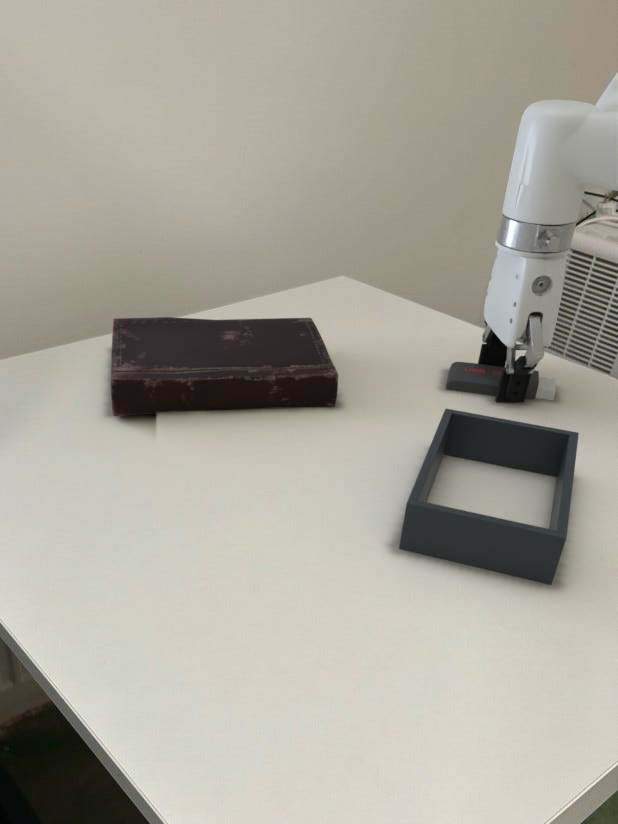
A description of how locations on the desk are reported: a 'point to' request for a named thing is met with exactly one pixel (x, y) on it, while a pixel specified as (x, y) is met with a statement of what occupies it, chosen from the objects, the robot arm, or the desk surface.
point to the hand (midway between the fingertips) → (498, 387)
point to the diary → (218, 365)
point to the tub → (484, 535)
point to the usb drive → (493, 381)
